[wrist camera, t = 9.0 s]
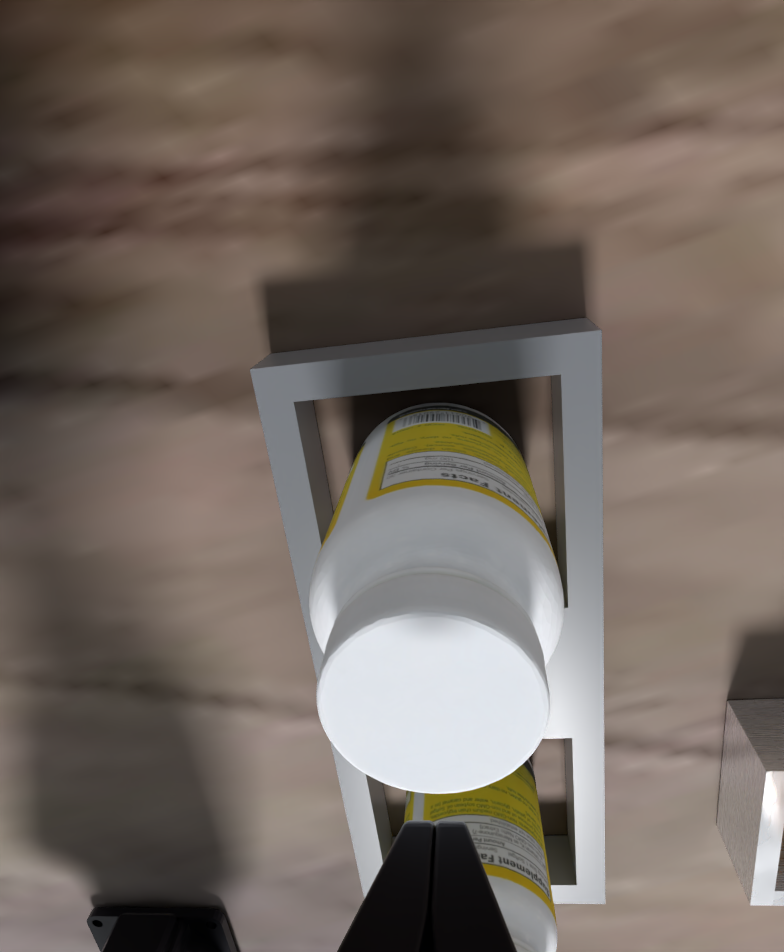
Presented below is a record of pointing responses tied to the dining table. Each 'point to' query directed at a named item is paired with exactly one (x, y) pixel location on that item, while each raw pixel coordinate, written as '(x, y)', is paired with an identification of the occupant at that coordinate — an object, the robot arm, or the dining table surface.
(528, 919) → the supplement bottle
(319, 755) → the dining table surface
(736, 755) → the button console
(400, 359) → the bottle holder
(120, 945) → the robot arm
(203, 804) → the dining table surface
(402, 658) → the supplement bottle
